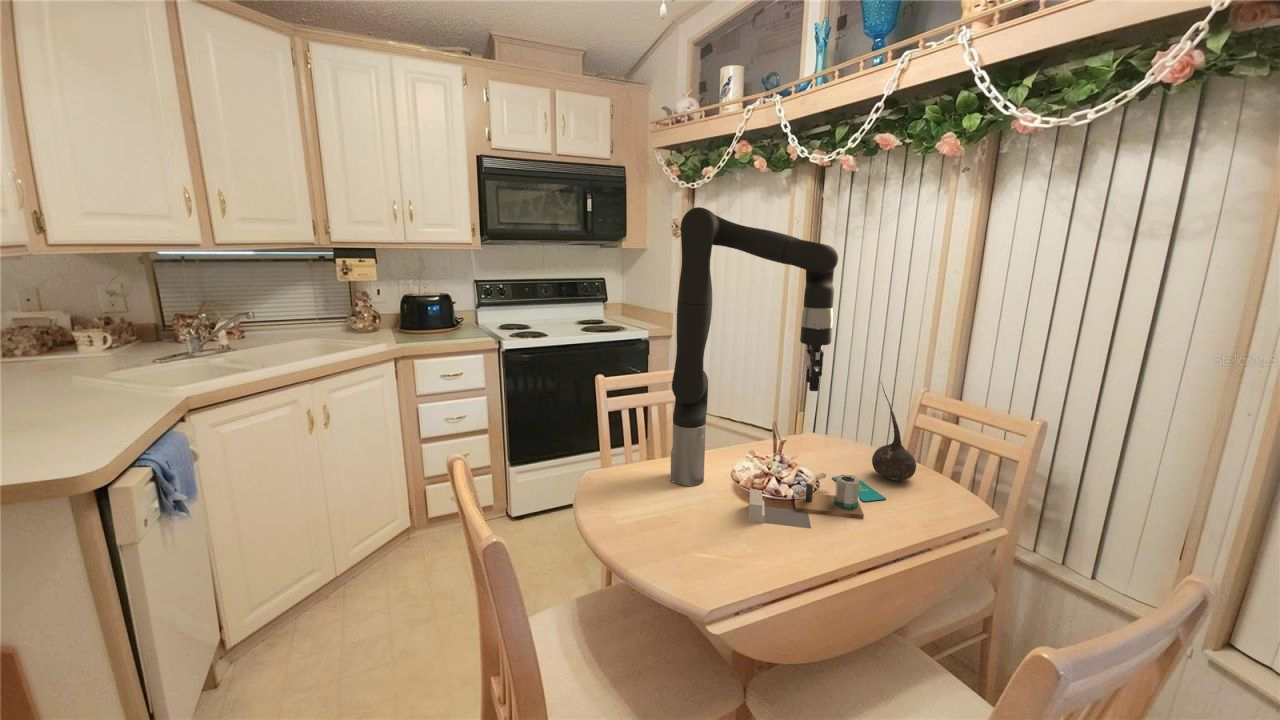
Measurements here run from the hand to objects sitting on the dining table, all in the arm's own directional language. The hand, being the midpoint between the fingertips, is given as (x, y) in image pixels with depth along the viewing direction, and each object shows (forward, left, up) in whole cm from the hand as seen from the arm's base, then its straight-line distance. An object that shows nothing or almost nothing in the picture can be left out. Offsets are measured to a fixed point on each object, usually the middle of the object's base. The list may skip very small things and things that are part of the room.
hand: (811, 386), depth 132 cm
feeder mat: (-7, -16, -30) cm, 35 cm away
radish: (+25, +15, -30) cm, 42 cm away
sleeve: (+10, -8, -29) cm, 31 cm away
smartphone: (+15, +6, -31) cm, 35 cm away
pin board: (+5, -8, -30) cm, 31 cm away
